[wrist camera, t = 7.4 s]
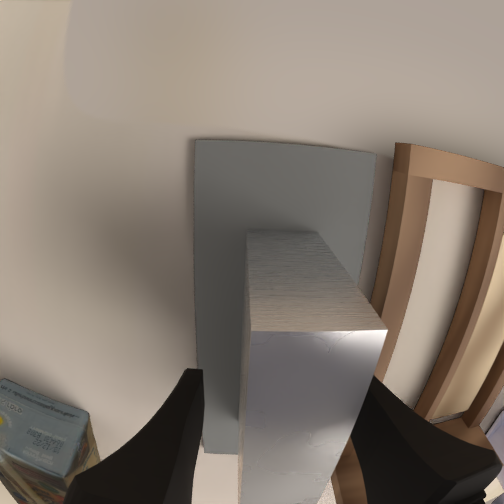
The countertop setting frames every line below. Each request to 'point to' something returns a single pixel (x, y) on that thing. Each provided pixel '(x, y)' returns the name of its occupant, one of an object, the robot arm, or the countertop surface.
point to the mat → (262, 217)
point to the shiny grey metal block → (299, 366)
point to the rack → (401, 281)
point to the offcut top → (478, 347)
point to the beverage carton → (42, 445)
